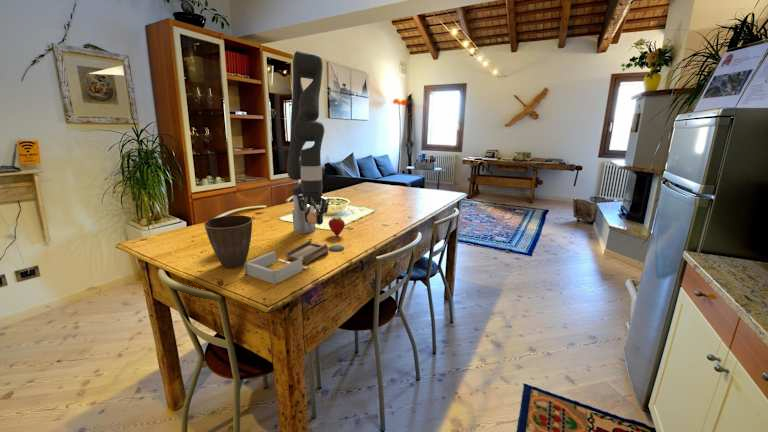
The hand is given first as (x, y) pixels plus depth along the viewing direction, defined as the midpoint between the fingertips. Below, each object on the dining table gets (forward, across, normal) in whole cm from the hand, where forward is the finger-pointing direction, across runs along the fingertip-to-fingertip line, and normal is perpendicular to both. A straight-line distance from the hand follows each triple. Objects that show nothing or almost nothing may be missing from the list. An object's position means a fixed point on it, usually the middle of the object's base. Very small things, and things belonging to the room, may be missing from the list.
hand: (314, 222), depth 126 cm
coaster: (+12, +4, +8) cm, 15 cm away
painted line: (+12, 0, -12) cm, 17 cm away
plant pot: (+12, -18, -23) cm, 31 cm away
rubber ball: (-2, 0, 0) cm, 2 cm away
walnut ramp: (+12, 0, -4) cm, 13 cm away
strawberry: (+12, -6, +21) cm, 25 cm away
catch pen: (+12, 0, -20) cm, 24 cm away
